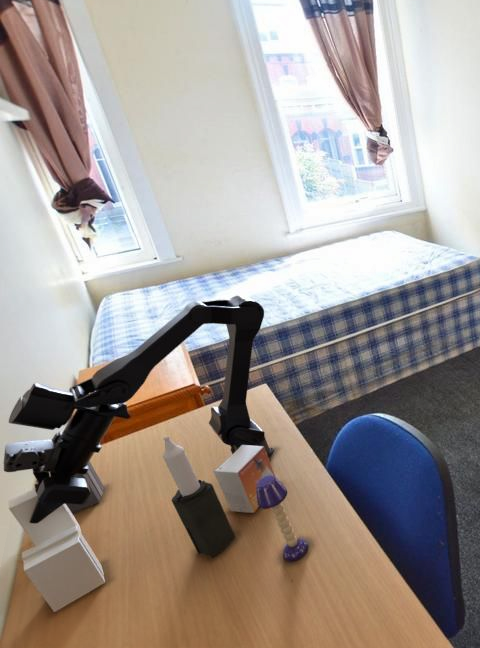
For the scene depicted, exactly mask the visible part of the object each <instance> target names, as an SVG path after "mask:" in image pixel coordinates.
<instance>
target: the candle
mask: <svg viewBox="0 0 480 648" xmlns="http://www.w3.org/2000/svg"><path fill="white" fill-rule="evenodd" d="M162 440H163V441H164V452H163V455H162V458H163V461H164V462H165V464H166V467H167V469H168V470H169V472H170V475H171V477H172V478H173V481H174V482H175V485H176V487H177V489H178V490H177V491H176V493H175V495H173V496H172V498H171V502H172V505H173V507H174V509H175V510H176V513H177V515H178V516H179V518H180V520H181V523H182V524H183V527H184V528H185V531H186V533H187V534H188V536H189V539H190V541H191V543H192V545H193V546H194V548H195V550H196V553H197V554H199V555H201V554H203V555H206V556H208V557H209V558H215V557H217V556H219V555H220V554H221V553H222V552H223V551H224V550H225V549H226V548H227V547H228V546H229V545H230V544H231V543H232V542H233V541H234V540H235V538H236V534H235V532H234V530H233V528H232V525H231V524H230V522H229V520H228V517H227V515H226V512H225V511H224V508H223V506H222V503H221V501H220V499H219V497H218V494H217V492H216V490H215V487H214V486H213V484H212V483H210V482H207V481H205V480H202V479H198V477H197V475H196V473H195V470H194V469H193V466H192V464H191V462H190V459H189V458H188V456H187V453H186V451H185V449H184V448H183V447H182V446H180V445H178V444H176V443H175V442H173V440H172V439H170V435H164V436H163V438H162Z"/></svg>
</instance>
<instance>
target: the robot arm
mask: <svg viewBox="0 0 480 648" xmlns="http://www.w3.org/2000/svg"><path fill="white" fill-rule="evenodd" d="M264 317H265V309H264V307H263V306H262V304H260V303H259V302H258V301H256V300H254V299H252V298H250V297H248V296H247V295H243V294H242V295H241V294H240V295H235V296H232V297H230V298H229V299H227V298H226V299H225V298H224V299H213V300H205V301H197V300H195V301H190V302H189V303H187V304H186V305H185V306H184V307H183V309H182V310H180V312H178V313H177V314H176V315H174V317H172V318H171V319H170V320H169V321H167V322H166V323H165V324H164V325H162V327H160V328H159V329H158V330H157V331H156V332H155V333H153V334H152V335H151V336H150V337H148V338H147V339H146V340H145V341H143V342H142V344H140V345H139V346H138V347H137V348H135V349H134V350H133V351H131V352H130V353H127V354H125V355H123V356H120V357H118V358H116V359H113V361H111V362H109V363H108V364H106V365H104V366H102V367H101V368H99V369H98V370H96V372H94V373H93V375H92V377H90V378H88V379H86V380H84V381H82V382H79V383H77V384H76V385H73V386H71V387H70V388H69V391H68V390H65V389H64V390H63V389H59V388H54V387H50V386H47V385H45V384H41V383H36V382H35V383H33V384H32V385H31V387H30V388H29V389H27V390H26V391H25V392H24V393H23V395H22V396H20V397H19V398H18V400H17V401H16V403H15V405H14V407H13V408H12V410H11V413H10V415H9V418H8V423H9V424H13V425H18V426H24V427H31V428H38V429H42V430H43V429H44V430H48V431H50V430H51V431H53V430H55V429H61V428H62V427H63V426H65V425H66V424H67V425H66V426H65V428H64V429H63V431H58V432H56V433H55V434H54V435H53V437H52V438H51V439H37V440H27V441H18V442H10V443H6V444H5V447H4V455H3V456H4V457H3V463H2V464H3V472H5V473H16V472H20V471H27V470H32V474H33V477H34V478H35V479H36V480H37V482H36V483H34V489H35V491H36V493H37V496H38V501H37V503H36V506H35V508H34V511H33V514H32V516H31V519H30V523H35V524H36V523H39V522H40V521H41V520H43V519H44V518H45V517H47V516H48V515H49V514H51V513H52V512H54V511H55V510H56V509H58V508H59V507H60V506H62V505H63V504H65V503H66V504H80V505H82V504H84V503H85V502H86V501H87V499H88V497H89V495H90V494H91V491H90V488H89V485H88V483H87V481H86V479H85V478H76V477H75V475H76V474H86V473H87V471H88V465H87V464H88V462H89V461H90V460H91V459H92V457H93V455H94V454H95V453H97V454H99V453H100V451H101V449H102V445H101V442H102V441H103V439H104V438H105V435H106V434H107V432H108V430H109V429H110V428H111V425H112V424H113V422H114V421H115V419H116V418H120V419H124V420H126V419H127V420H129V419H131V417H132V415H131V414H130V412H129V410H128V405H127V402H128V401H130V400H131V399H132V398H133V397H134V396H135V395H136V394H137V392H138V391H139V390H140V389H141V388H142V386H143V385H144V384H145V382H146V380H147V379H148V377H149V376H150V373H151V372H152V371H153V369H154V368H155V367H156V366H157V365H158V364H159V363H161V362H162V361H163V360H164V359H165V358H167V357H168V356H169V355H170V354H171V353H172V352H173V351H174V350H176V349H177V348H178V347H179V346H180V345H181V344H182V343H184V342H185V341H186V340H187V339H188V338H189V337H190V336H192V335H193V334H194V333H195V332H196V331H197V330H199V329H200V328H201V327H202V326H203V325H210V324H212V325H213V324H215V325H226V329H227V333H228V346H227V347H228V348H227V356H226V366H225V375H224V384H223V392H222V399H221V401H220V403H219V405H218V406H211V407H210V415H211V416H210V420H209V421H208V424H209V426H210V427H211V428H212V430H213V432H214V433H215V434H216V436H217V437H218V438H219V439H220V440H221V441H222V443H224V444H225V445H227V446H230V452H231V455H232V454H233V453H234V452H235V451H237V450H238V449H239V447H240V446H241V445H252V446H264V447H265V450H266V453H267V455H268V458H269V459H270V457H271V456H272V455H273V453H274V451H275V448H274V447H270V446H269V444H268V441H267V437H266V436H265V431H264V430H263V429H262V428H261V427H260V426H259V425H258V424H257V423H256V422H254V420H253V419H252V418H251V417H250V414H249V409H248V405H247V395H248V388H249V387H248V386H249V378H250V369H251V360H252V352H253V344H254V340H255V338H256V336H257V335H258V333H259V332H260V330H261V327H262V324H263V320H264ZM90 462H91V461H90Z"/></svg>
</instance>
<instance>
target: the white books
mask: <svg viewBox="0 0 480 648" xmlns="http://www.w3.org/2000/svg"><path fill="white" fill-rule="evenodd" d="M21 556H22V557H21V558H22V560H23V571H24V573H25V574H26V575H27V577H28V579H29V580H30V581H31V582H32V584H33V585H34V586H35V588H36V589H37V590H38V592H39V593H40V595H41V596H42V598H43V599H44V600H45V602H46V603H47V605H48V606H49V607H50V609H51V610H52V611H53V613H56V612H57V611H60V610H61V609H63V608H64V607H66V606H68V605H70V604H71V603H73V602H75V601H76V600H78V599H80V598H81V597H83V596H85V595H86V594H88V593H90V592H92V591H94V590H95V589H97V588H98V587H100V586H102V585H104V584H105V583H106V581H105V574H104V570H103V566H102V564H101V562H100V561H99V559H98V556H96V554H95V553H94V551H93V550H92V548H91V546H90V544H89V543H88V542H87V540H86V538H85V537H84V535H83V534H82V531H81V532H80V530H79V529H78V527H77V526H74V527H72V528H70V529H68V530H66V531H64V532H62V533H60V534H58V535H56V536H54V537H52V538H50V539H48V540H46V541H44V542H42V543H40V544H38V545H36V546H35V545H34V546H32V547H30V548H29V549H27V550H24V551H23V552H22V553H21Z"/></svg>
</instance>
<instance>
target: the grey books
mask: <svg viewBox="0 0 480 648" xmlns="http://www.w3.org/2000/svg"><path fill="white" fill-rule="evenodd" d="M87 465H88V471H87V473H86V474H76V475H75V477H76V478H85V479H86V481H87V483H88V485H89V488H90V491H91V494H90V495H89V497H88V499H87V501H86V502H85V503H84V504H82V505H80V504H66V505H67V507H68V508H69V510H70V511H71V513H72V514H73V513H75V512H78V511H81V510H83V509H86V508H88V507H91V506H93V505H96V504H99V503H101V499H102V497H103V494H104V491H105V485H104V483H103V482H102V481H101V479H100V477H99V475H98V473H97V472H96V470H95V468H94V466H93V464H92V463H91V461H89V462H88V464H87ZM35 483H37V479H36V480H35Z"/></svg>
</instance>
